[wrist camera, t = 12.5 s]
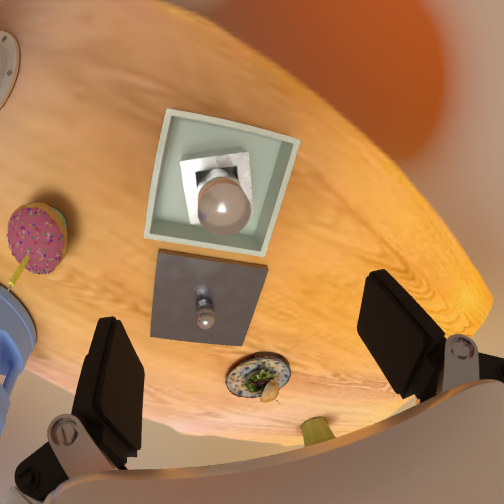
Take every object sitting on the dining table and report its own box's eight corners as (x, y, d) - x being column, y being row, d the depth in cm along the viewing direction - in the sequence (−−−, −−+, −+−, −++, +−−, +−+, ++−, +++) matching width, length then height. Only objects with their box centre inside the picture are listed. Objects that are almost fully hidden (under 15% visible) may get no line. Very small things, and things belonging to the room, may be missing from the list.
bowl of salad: (250, 342, 45) (259, 378, 38) (302, 361, 50) (314, 392, 43) (211, 382, 48) (215, 416, 42) (262, 396, 53) (269, 426, 47)
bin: (149, 221, 33) (143, 237, 29) (171, 108, 27) (166, 108, 23) (256, 239, 36) (264, 257, 32) (287, 135, 31) (301, 140, 27)
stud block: (150, 332, 40) (147, 356, 36) (159, 248, 34) (154, 270, 30) (241, 341, 44) (246, 365, 40) (266, 265, 38) (276, 287, 34)
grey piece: (182, 154, 29) (174, 177, 20) (241, 146, 30) (263, 164, 20) (191, 209, 32) (189, 255, 23) (246, 201, 33) (269, 243, 23)
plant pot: (287, 429, 62) (296, 457, 55) (314, 410, 60) (325, 440, 52) (311, 432, 66) (320, 458, 59) (336, 415, 64) (348, 441, 56)
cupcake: (79, 258, 33) (44, 317, 22) (27, 248, 30) (-16, 299, 20) (80, 195, 29) (34, 238, 19) (25, 188, 27) (-30, 225, 16)
